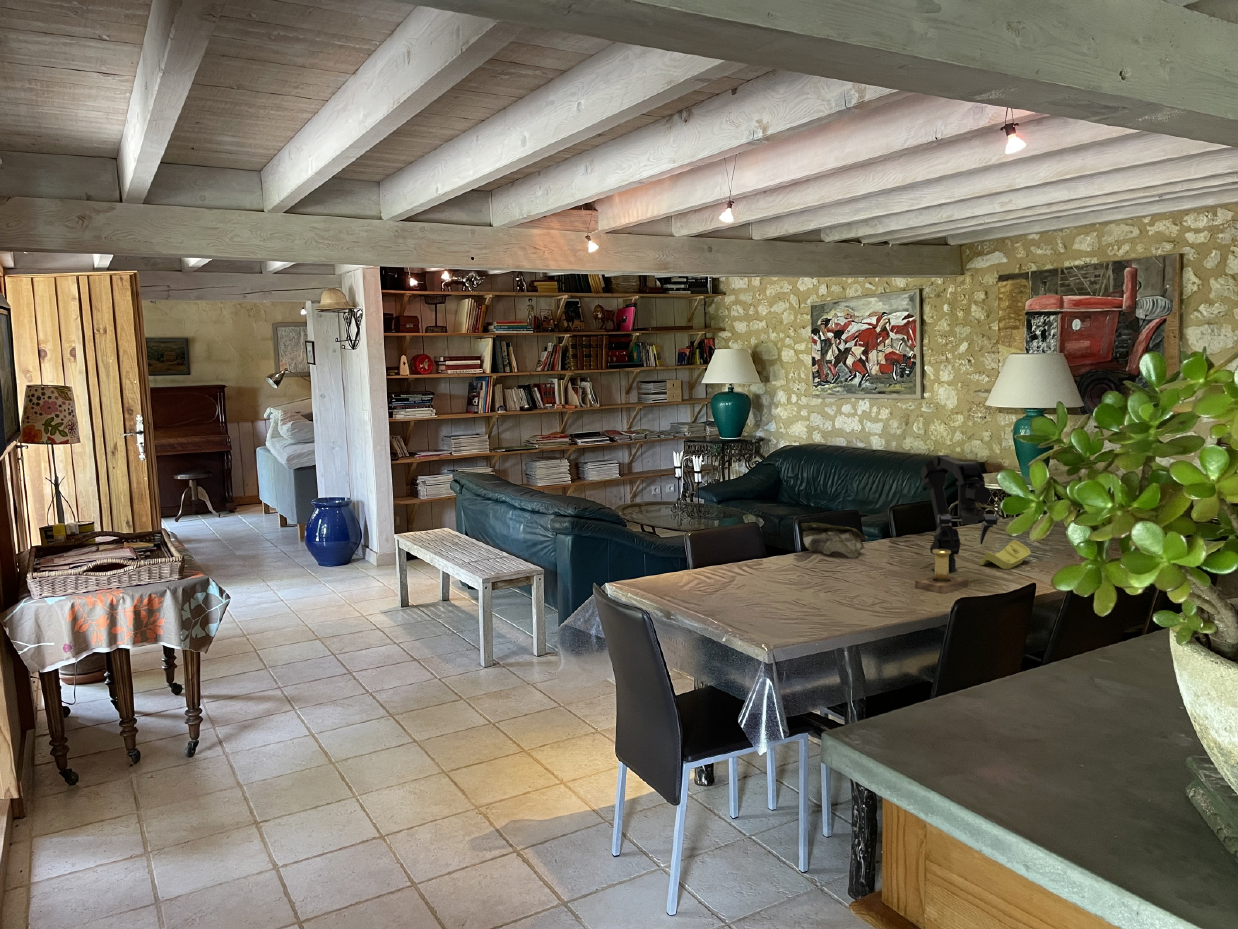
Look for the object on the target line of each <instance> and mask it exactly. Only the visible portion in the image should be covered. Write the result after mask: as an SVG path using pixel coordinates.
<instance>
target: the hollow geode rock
mask: <svg viewBox="0 0 1238 929" xmlns="http://www.w3.org/2000/svg"><path fill="white" fill-rule="evenodd" d="M800 525H801V528H802V530H804V531H802V534H803V535H802V539H803V543H804V546H805V547H806V549H808V550H809V552H820V553H824V554H826V555H831V554H832V553H833V552H839V553H842V554H844V555H845V556H847V557H848V558H849V559H856V558H858V557H859V555H860V553H861V551H862V550H863V549H864V548H865V547H864V543H863V542H865V541H868V536H866V535H865V534H863V533H862V532H860V530H858V529H856V528H854V527H848V526H845V527H844V526H841V525H832V524H831V525H830V524H827V523H822V522H809V523H808V522H807V523H806V522H804V523H803V522H801V524H800Z"/></svg>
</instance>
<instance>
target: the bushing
mask: <svg viewBox="0 0 1238 929" xmlns="http://www.w3.org/2000/svg"><path fill="white" fill-rule="evenodd" d="M933 553H934V554H935V571H934V575H935V581H936V582H949V576H950V575H949V574H950V572H949V554H951V550H948V549H934V550H933Z"/></svg>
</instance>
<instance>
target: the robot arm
mask: <svg viewBox="0 0 1238 929" xmlns="http://www.w3.org/2000/svg"><path fill="white" fill-rule="evenodd" d="M950 472H951V473H953V476H954V477H955V478H956V479H957V481H956V482H955V485H957V486H958V488H957V489H958V490H957V492H958V494H957V495H958V497H957V498H958V501H957V504H958V505H957V516H952V515H951V514H950V513H949V510H948V504H947V503H948V502H947V500H946V494H945V489H944V487H945V485H946V483H947V475H948V474H949V473H950ZM983 474H984V473H982V470H981V467H980V466H979V463H977V462H974V461H973V462H971V461H970V462H969V461H966V462H964V461H961V460H959V459H956V458H954V457H952V456H950V455H947V454H941V455H940V454H937V455H935V456H933V458H932V459H931V460H930V461H928V462H927V463H925V464H924V465H923V466H922V468H921V470H920V477H921V479H922V481H923V485H924V486H925V487H926V488H927V489H928V490H929V494H930V499H931V504H932V509H933V514H934V519H935V524H936V525H935V526H936V529H935V533H934V535H933V542H932V544H931V545H930V547H929V550H930V555H933V556H934V557H933V558H934V559H933V560H934V566H933V567H934V568H931V571H934V572H935V554H934V553H933V550H934V549H948V550H951V554H949V573H952V572H957V571H958V568H956V562H957V560H956V558H955V557H956V556H955V555H959V553H960V548H961V539H960V536H959V531H958V529H957V528H954V527H953V525H952V523H962V524H963V525H969V524H970V525H971V524H972V525H977V524H978V523H981V524H980V525H981V526H980V537H979V544H980V545H983V542H984V540H985V537H986V534H987V532H988V531H989V529H990V528H993V527H994V526H995V525H996V526H997V525H998V517H997V516H996V515H995V514H994V513H993V514H990V513H988V514H987V513H986V514H985V513H984V512H985V510H984V509H981V508H978V509H977V504H986V503H987V502H988V501H989V500H990V498H991V496H992V493H991V490H990V489H989V488H988V487H986V482H985V476H984V475H983Z"/></svg>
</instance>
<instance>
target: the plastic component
mask: <svg viewBox="0 0 1238 929" xmlns="http://www.w3.org/2000/svg"><path fill="white" fill-rule="evenodd" d="M1030 554H1031V550H1030V549H1029V547H1027V546H1026V545H1025V544H1023V543H1021V542H1019V541H1018V540H1015V539H1014V540H1012V541H1010V542H1009V543H1008V544H1007V545H1006V546H1005V547H1004V548H1003V549H1002V550H1001V551H999V552H997V553H996V554H995V553H993V552H991V551H989V552H988V551H987V552H986V553H985V555H984V556H983V557H982V559H981V560H980V562H979V565H980V566H985V565H987V564H990V563H993V564H994V565H996V566H998V567H999V568H1001V569H1003V570H1011V569H1013V568H1014V567H1017V566H1018V565H1020V564H1022V563H1023V561H1024V560H1026V559H1028V557H1029V556H1030Z"/></svg>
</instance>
